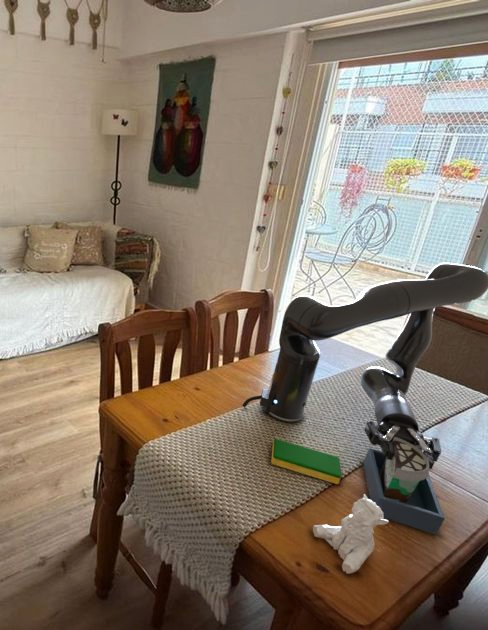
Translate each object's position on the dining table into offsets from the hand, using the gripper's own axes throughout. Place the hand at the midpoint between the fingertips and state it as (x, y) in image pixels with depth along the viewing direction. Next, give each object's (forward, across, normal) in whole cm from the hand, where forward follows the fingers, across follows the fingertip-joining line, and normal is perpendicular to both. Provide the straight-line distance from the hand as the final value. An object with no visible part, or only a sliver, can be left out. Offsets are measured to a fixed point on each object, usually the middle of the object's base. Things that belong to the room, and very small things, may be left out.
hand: (409, 461), depth 92 cm
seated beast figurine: (+21, -11, +9) cm, 25 cm away
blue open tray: (+1, 0, +9) cm, 9 cm away
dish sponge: (0, -18, +9) cm, 20 cm away
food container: (+1, 0, +8) cm, 8 cm away
